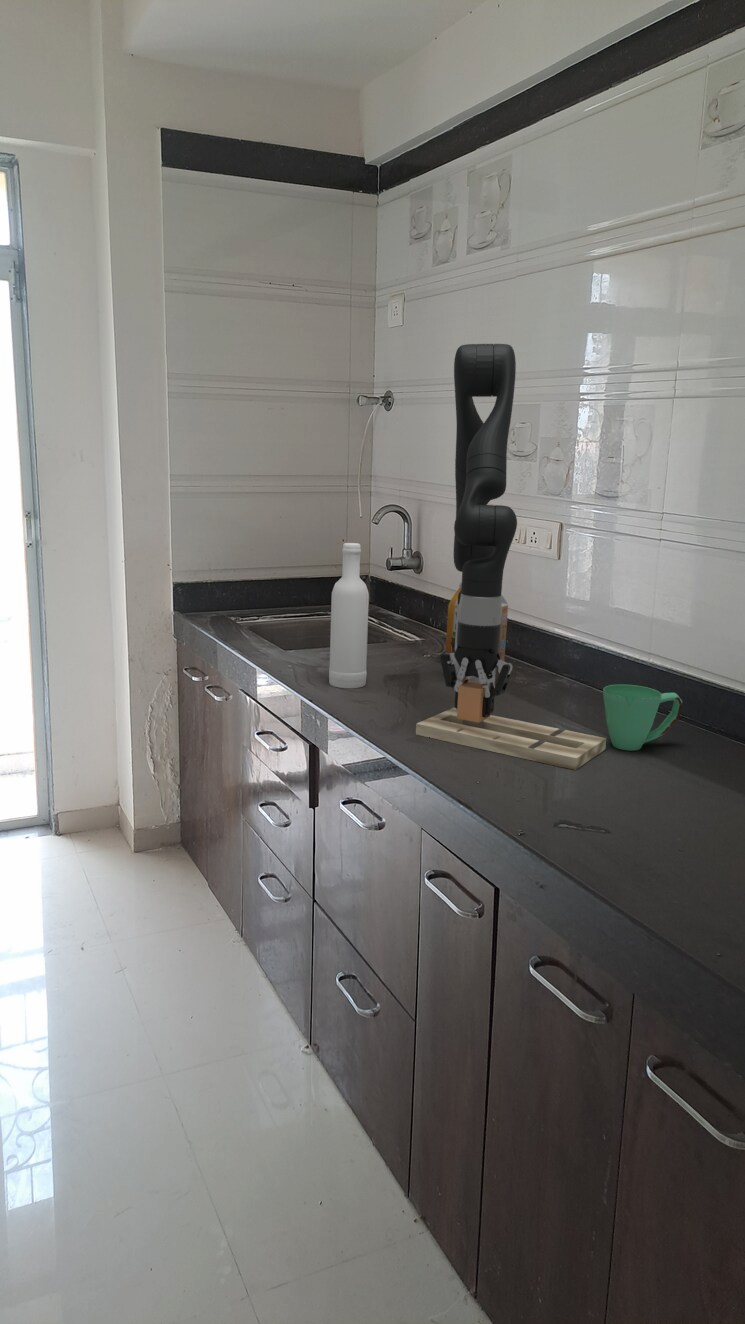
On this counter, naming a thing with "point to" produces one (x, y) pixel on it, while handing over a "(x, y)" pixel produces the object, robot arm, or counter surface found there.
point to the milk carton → (453, 619)
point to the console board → (516, 739)
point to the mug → (636, 714)
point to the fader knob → (471, 704)
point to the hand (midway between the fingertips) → (473, 713)
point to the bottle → (349, 623)
